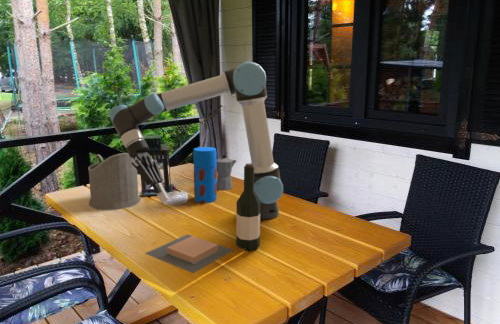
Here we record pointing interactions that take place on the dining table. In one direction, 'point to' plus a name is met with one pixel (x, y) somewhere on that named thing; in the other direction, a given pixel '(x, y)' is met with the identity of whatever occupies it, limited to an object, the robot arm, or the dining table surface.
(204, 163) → the thermos
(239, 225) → the wine bottle
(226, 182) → the coffeepot
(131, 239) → the dining table surface
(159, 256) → the mat
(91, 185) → the pitcher
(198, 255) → the tile
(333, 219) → the dining table surface
